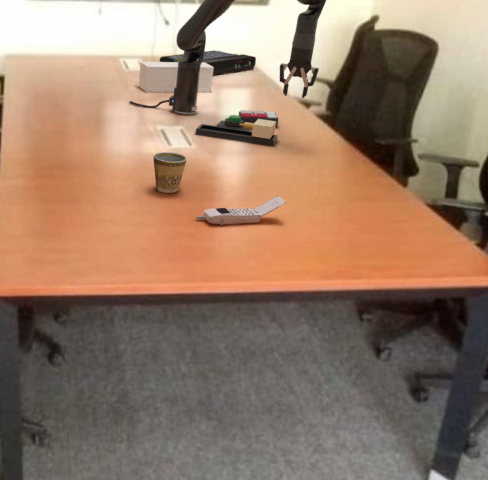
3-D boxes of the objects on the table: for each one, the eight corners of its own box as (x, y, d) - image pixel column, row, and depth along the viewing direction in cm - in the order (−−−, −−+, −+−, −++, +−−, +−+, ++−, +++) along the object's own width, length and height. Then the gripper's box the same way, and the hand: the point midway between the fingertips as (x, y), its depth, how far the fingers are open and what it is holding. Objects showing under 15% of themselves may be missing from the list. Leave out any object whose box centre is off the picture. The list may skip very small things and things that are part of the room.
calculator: (238, 109, 314) (275, 110, 313) (238, 120, 316) (274, 120, 316) (241, 115, 305) (278, 116, 304) (240, 126, 307) (277, 127, 307)
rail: (195, 134, 291) (196, 128, 290) (200, 129, 298) (201, 123, 296) (273, 146, 284) (274, 140, 282) (276, 141, 290) (277, 135, 289)
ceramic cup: (173, 197, 230) (176, 164, 224) (144, 189, 234) (147, 157, 228) (193, 186, 239) (197, 154, 233) (165, 179, 243) (168, 148, 238)
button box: (215, 129, 300) (216, 120, 298) (221, 123, 307) (222, 115, 305) (245, 133, 297) (247, 125, 295) (250, 128, 304) (251, 120, 302)
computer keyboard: (214, 60, 424) (216, 47, 420) (254, 69, 408) (256, 56, 404) (159, 67, 396) (160, 53, 393) (199, 78, 380) (200, 63, 377)
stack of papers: (202, 86, 364) (205, 62, 358) (210, 91, 355) (213, 67, 349) (138, 86, 355) (140, 61, 349) (145, 92, 347) (147, 66, 341)
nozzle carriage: (235, 137, 286) (238, 121, 283) (240, 131, 293) (243, 116, 290) (269, 142, 283) (272, 126, 280) (273, 136, 290) (276, 121, 287)
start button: (227, 121, 299) (228, 116, 298) (229, 119, 303) (230, 114, 302) (238, 123, 298) (239, 118, 297) (240, 120, 302) (241, 116, 301)
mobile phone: (288, 202, 214) (205, 205, 208) (284, 222, 218) (203, 226, 211) (278, 195, 219) (197, 198, 212) (275, 215, 222) (195, 218, 216)
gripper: (324, 46, 268) (315, 97, 278) (284, 42, 272) (276, 91, 281) (322, 50, 262) (312, 101, 272) (280, 45, 266) (272, 95, 275)
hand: (294, 96), depth 276 cm, fingers open, 5 cm apart
